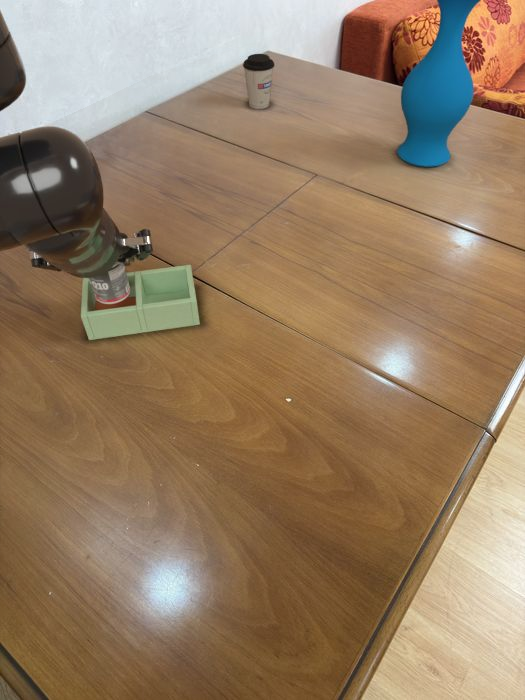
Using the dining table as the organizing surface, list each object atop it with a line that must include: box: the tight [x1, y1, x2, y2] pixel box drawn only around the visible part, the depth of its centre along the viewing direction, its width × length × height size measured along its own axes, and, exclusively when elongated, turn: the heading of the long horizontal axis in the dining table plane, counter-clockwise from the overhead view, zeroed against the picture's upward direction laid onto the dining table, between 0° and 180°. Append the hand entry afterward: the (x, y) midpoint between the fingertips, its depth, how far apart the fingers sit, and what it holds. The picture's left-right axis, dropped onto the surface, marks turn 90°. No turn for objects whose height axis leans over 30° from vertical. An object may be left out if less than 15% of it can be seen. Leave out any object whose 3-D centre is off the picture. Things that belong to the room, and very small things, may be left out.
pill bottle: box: [89, 264, 130, 304], centre depth 69 cm, size 5×5×8 cm
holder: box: [80, 264, 201, 341], centre depth 74 cm, size 15×8×4 cm, turn 101°
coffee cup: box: [242, 53, 275, 110], centre depth 119 cm, size 7×7×10 cm
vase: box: [396, 0, 481, 168], centre depth 95 cm, size 12×13×28 cm
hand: (105, 260), depth 70 cm, fingers closed on pill bottle, 4 cm apart
